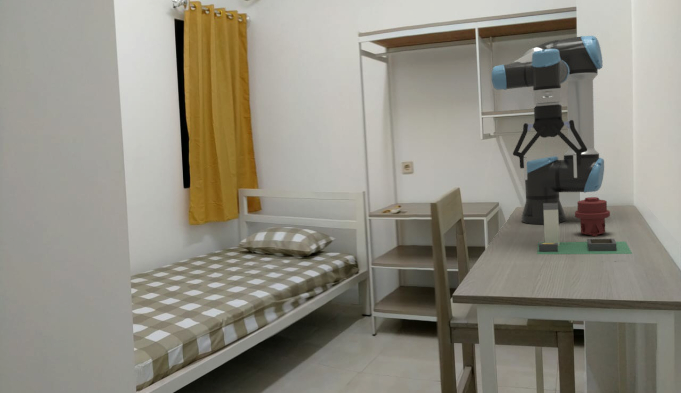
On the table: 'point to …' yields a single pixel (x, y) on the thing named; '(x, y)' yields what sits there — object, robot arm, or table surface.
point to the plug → (551, 223)
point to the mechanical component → (592, 215)
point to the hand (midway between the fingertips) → (550, 178)
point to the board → (585, 247)
